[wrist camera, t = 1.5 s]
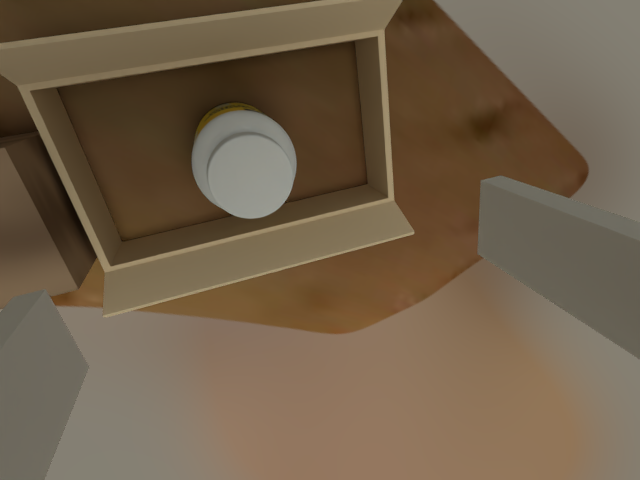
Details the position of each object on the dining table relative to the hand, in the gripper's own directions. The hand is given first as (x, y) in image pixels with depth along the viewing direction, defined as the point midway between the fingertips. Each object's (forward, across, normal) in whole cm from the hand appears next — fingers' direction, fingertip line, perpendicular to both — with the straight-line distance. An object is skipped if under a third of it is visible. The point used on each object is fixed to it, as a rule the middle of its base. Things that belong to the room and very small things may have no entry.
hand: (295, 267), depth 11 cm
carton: (+22, 0, 0) cm, 22 cm away
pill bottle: (+22, 0, 0) cm, 22 cm away
